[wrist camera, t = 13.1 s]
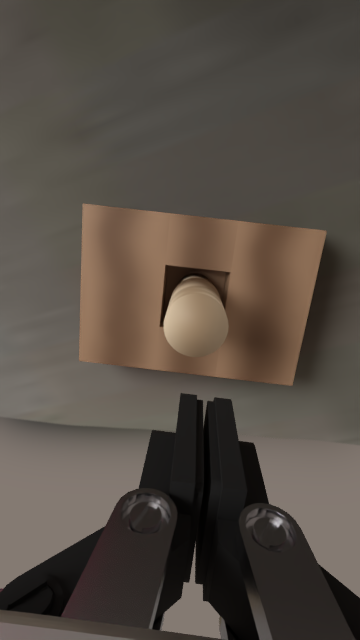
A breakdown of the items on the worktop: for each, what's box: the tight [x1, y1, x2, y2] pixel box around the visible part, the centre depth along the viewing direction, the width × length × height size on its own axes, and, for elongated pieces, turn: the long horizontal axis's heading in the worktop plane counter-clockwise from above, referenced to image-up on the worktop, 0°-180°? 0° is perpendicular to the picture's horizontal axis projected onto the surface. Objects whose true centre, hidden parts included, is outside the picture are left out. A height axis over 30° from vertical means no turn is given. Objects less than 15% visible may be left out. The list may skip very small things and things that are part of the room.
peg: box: [164, 273, 229, 357], centre depth 28 cm, size 4×4×12 cm
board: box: [79, 204, 327, 386], centre depth 32 cm, size 20×14×5 cm
